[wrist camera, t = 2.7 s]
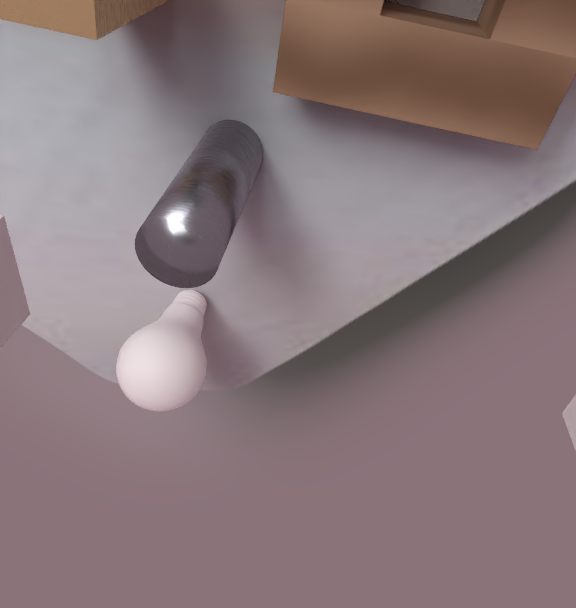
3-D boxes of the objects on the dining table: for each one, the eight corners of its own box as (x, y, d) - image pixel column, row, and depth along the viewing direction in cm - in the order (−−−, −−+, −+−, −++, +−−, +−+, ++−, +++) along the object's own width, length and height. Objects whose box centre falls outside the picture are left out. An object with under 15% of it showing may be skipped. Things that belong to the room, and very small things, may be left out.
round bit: (204, 114, 31) (133, 207, 22) (267, 127, 31) (222, 227, 22) (201, 172, 34) (136, 278, 25) (259, 185, 34) (215, 295, 25)
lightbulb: (242, 287, 40) (207, 394, 31) (214, 334, 44) (175, 440, 35) (171, 252, 38) (114, 354, 30) (148, 303, 42) (91, 406, 34)
